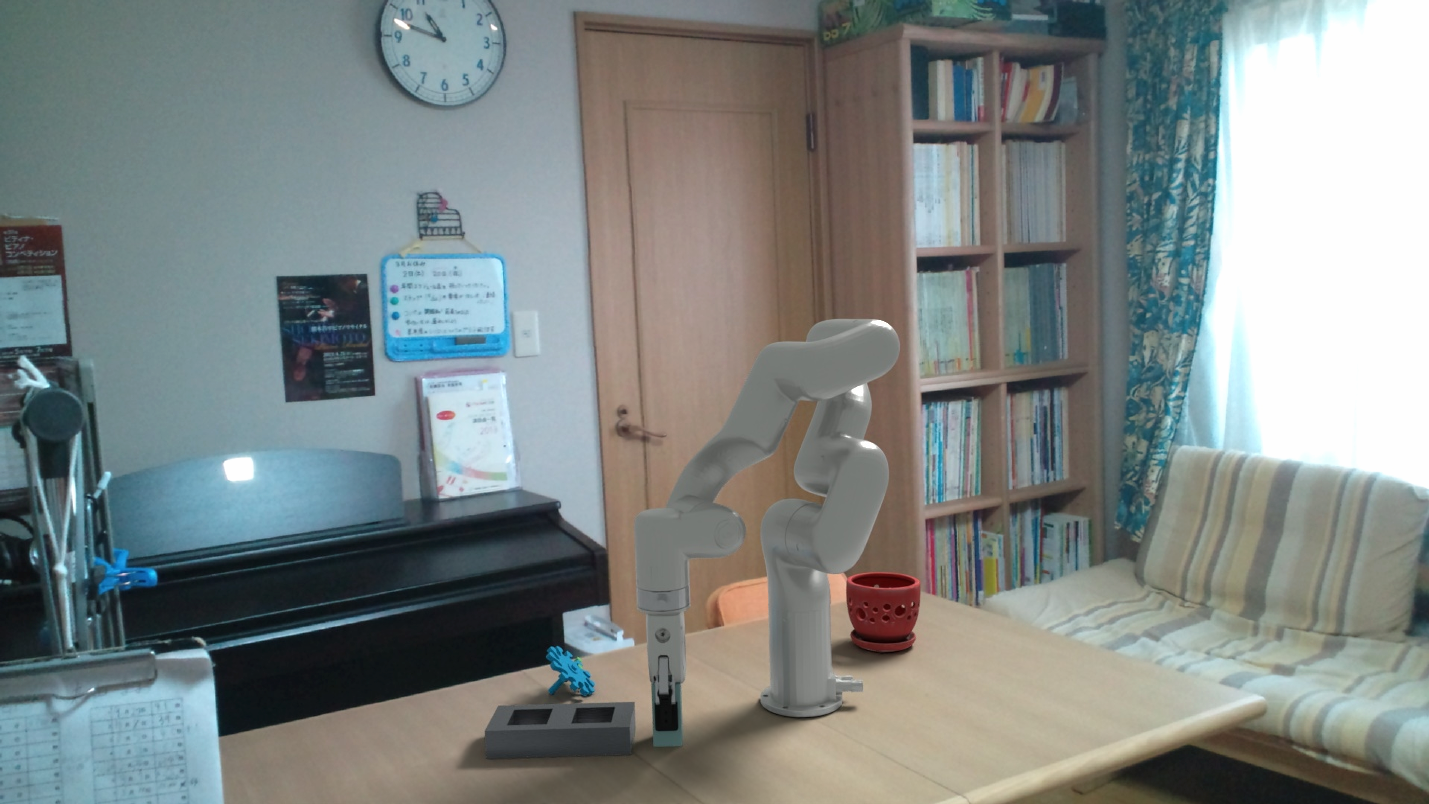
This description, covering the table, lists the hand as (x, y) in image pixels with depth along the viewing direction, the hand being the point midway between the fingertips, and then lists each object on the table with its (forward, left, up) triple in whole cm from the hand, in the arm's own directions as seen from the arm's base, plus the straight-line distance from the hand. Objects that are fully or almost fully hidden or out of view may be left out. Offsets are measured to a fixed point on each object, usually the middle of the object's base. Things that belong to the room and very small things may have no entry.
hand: (667, 721), depth 146 cm
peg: (0, 0, -3) cm, 3 cm away
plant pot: (-37, -39, -3) cm, 53 cm away
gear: (+16, -20, -3) cm, 26 cm away
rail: (+15, 0, -3) cm, 15 cm away
